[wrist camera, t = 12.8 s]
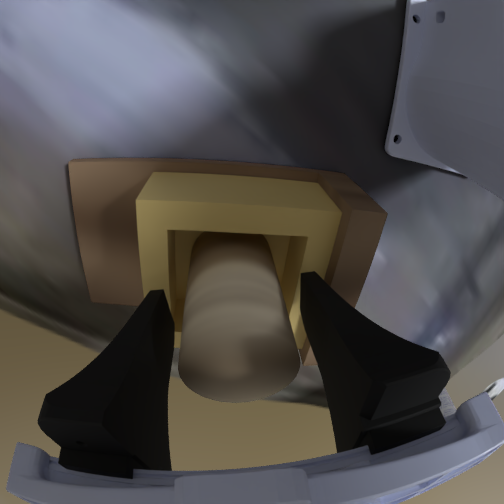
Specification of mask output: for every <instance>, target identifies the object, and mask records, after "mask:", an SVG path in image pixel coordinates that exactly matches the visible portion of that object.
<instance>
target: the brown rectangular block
mask: <svg viewBox="0 0 504 504" xmlns="http://www.w3.org/2000/svg"><path fill="white" fill-rule="evenodd" d="M68 164H69V176H70V186H71V195H72V203H73V211H74V218H75V224H76V231H77V237H78V242H79V248H80V253H81V258H82V263H83V268H84V273H85V277H86V282H87V286H88V290H89V294H90V298H91V302H94V303H105V304H117V305H130V306H139V305H140V304H141V302H142V301H143V299H144V293H143V285H142V276H141V266H140V256H139V244H138V231H137V215H136V199H137V197H138V195H139V194H140V192H141V190H142V189H143V187H144V186H145V184H146V182H147V181H148V179H149V178H150V176H151V175H152V173H153V172H177V173H201V174H220V175H236V176H250V177H262V178H274V179H285V180H295V181H304V182H313V183H318V184H319V185H320V186H321V187H322V188H323V190H324V191H325V192H326V193H327V194H328V196H329V197H330V198H331V199H332V201H333V202H334V203H335V204H336V205H337V207H338V208H339V209H340V210H341V212H342V215H341V219H340V223H339V227H338V231H337V235H336V238H335V242H334V246H333V250H332V253H331V257H330V260H329V264H328V267H327V271H326V274H325V278H324V281H325V282H326V283H327V284H328V285H329V286H330V287H331V288H332V289H333V290H334V291H335V292H337V293H338V294H339V295H340V296H341V297H342V298H343V299H344V300H345V301H346V302H348V303H349V304H350V305H351V306H352V307H354V308H355V306H356V303H357V301H358V298H359V296H360V293H361V290H362V288H363V285H364V283H365V280H366V277H367V274H368V272H369V269H370V266H371V263H372V260H373V257H374V255H375V252H376V249H377V246H378V243H379V240H380V237H381V234H382V230H383V227H384V224H385V221H386V218H387V214H388V213H387V212H386V211H385V210H384V209H383V208H382V207H381V206H379V205H378V204H377V203H376V202H375V201H374V200H373V199H372V198H371V197H370V196H369V195H368V194H367V193H366V192H364V191H363V190H362V189H361V188H360V187H359V186H358V185H357V184H356V183H355V182H353V181H352V180H351V179H350V178H349V177H348V176H347V175H346V174H344V173H339V172H332V171H324V170H316V169H308V168H300V167H291V166H281V165H271V164H260V163H248V162H235V161H219V160H201V159H175V158H91V159H73V160H71V161H70V162H68ZM299 352H300V356H301V360H302V364H303V366H308V365H318V364H317V362H316V359H315V356H314V354H313V351H312V348H311V346H310V343H309V340H308V337H307V336H306V339H305V342H304V345H303V348H302V349H299Z"/></svg>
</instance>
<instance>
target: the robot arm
mask: <svg viewBox="0 0 504 504" xmlns="http://www.w3.org/2000/svg"><path fill="white" fill-rule="evenodd" d="M413 16H414V17H415V18H416V20H417V22H416V23H415V22H414V20H413ZM395 135H398V140H397V141H396V142H394V136H395ZM385 151H386V152H387V154H389V155H390V156H393V157H396V158H401V159H405V160H409V161H414V162H418V163H422V164H426V165H430V166H433V167H437V168H441V169H444V170H448V171H452V172H455V173H459V174H462V175H464V176H466V177H467V178H469V179H471V180H472V181H474V182H475V183H477V184H479V185H480V186H482V187H483V188H485V189H487V190H488V191H490V192H491V193H493V194H494V195H496V196H497V197H499V198H500V199H502V200H503V201H504V0H429V1H426V0H407V4H406V16H405V26H404V35H403V43H402V51H401V59H400V66H399V72H398V79H397V85H396V91H395V97H394V102H393V107H392V113H391V118H390V123H389V128H388V133H387V137H386V142H385ZM300 312H301V316H302V321H303V325H304V329H305V332H306V335H307V337H308V340H309V343H310V346H311V348H312V351H313V354H314V356H315V359H316V362H317V364H318V367H319V370H320V373H321V376H322V380H323V384H324V388H325V392H326V396H327V401H328V405H329V410H330V414H331V420H332V425H333V431H334V436H335V442H336V448H337V453H336V454H331V455H327V456H322V457H317V458H312V459H307V460H302V461H296V462H290V463H283V464H277V465H269V466H261V467H252V468H241V469H228V470H208V471H172V469H171V460H170V450H169V436H168V387H169V379H170V372H171V365H172V358H173V351H174V340H175V323H174V320H173V317H172V314H171V311H170V308H169V305H168V302H167V299H166V295H165V292H164V289H160V290H150V291H149V293H148V294H147V295H146V297H145V298H144V299H143V301H142V302H141V304H140V305H139V307H138V308H137V309H136V311H135V312H134V314H133V315H132V316H131V318H130V319H129V320H128V322H127V323H126V325H125V326H124V327H123V328H122V330H121V331H120V332H119V333H118V335H117V336H116V337H115V338H114V340H113V341H112V342H111V343H110V344H109V345H108V346H107V347H106V348H105V349H104V350H103V351H102V352H101V353H100V354H99V355H98V356H97V358H95V359H94V360H93V361H92V362H91V363H90V364H89V365H87V366H86V367H85V368H84V369H83V370H82V371H80V372H79V373H78V374H76V375H75V376H74V377H73V378H71V379H70V380H68V381H67V382H65V383H64V384H62V385H61V386H59V387H58V388H56V389H54V390H53V391H51V392H49V393H48V394H46V396H45V399H44V402H43V405H42V408H41V411H40V414H39V418H38V425H39V426H40V428H41V430H42V431H43V432H44V433H45V434H46V435H47V436H49V437H50V438H51V439H52V440H53V441H54V442H56V443H57V444H58V445H59V446H60V447H61V451H60V456H59V458H56V457H51V456H49V455H48V454H47V453H46V452H45V451H44V450H42V449H40V448H38V447H35V446H32V445H28V444H24V443H20V442H17V444H16V448H15V452H14V456H13V460H12V464H11V468H10V473H9V477H8V482H7V488H6V490H7V491H8V492H10V493H12V494H13V495H15V496H17V497H19V498H21V499H23V500H25V501H26V502H28V503H30V504H398V503H400V502H403V501H405V500H408V499H410V498H412V497H415V496H417V495H419V494H421V493H423V492H426V491H428V490H430V489H432V488H434V487H436V486H438V485H440V484H442V483H444V482H446V481H448V480H450V479H452V478H454V477H455V476H457V475H459V474H461V473H463V472H464V471H466V470H468V469H470V468H472V467H473V466H475V465H477V464H478V463H480V462H482V461H483V460H484V459H485V458H487V457H488V456H489V455H491V454H492V453H493V452H494V451H495V450H497V449H498V448H499V447H500V446H501V445H503V443H504V423H503V421H502V419H501V417H500V415H499V413H498V411H497V410H496V408H495V406H494V404H493V402H492V400H491V399H490V397H489V395H488V393H487V392H483V393H481V394H479V395H477V396H475V397H473V398H471V399H469V400H467V401H465V402H464V403H463V404H461V405H460V407H459V408H458V409H457V410H456V412H455V413H454V414H452V415H450V416H447V417H445V418H444V416H443V414H442V412H441V410H440V408H439V407H440V406H441V401H440V399H439V395H440V394H441V392H442V391H443V389H444V387H445V386H446V384H447V383H448V381H449V378H450V373H451V372H450V370H449V368H448V367H447V365H446V363H445V361H444V359H443V358H442V357H441V355H440V354H439V352H437V351H434V350H431V349H428V348H425V347H422V346H419V345H417V344H414V343H412V342H410V341H407V340H405V339H403V338H401V337H399V336H397V335H395V334H393V333H391V332H389V331H387V330H386V329H384V328H382V327H380V326H379V325H377V324H376V323H374V322H373V321H371V320H370V319H368V318H367V317H365V316H364V315H362V314H361V313H360V312H359V311H357V310H356V309H355V308H354V307H352V306H351V305H350V304H349V303H348V302H346V301H345V300H344V299H343V298H342V297H341V296H340V295H339V294H338V293H337V292H335V291H334V290H333V289H332V288H331V287H330V286H329V285H328V284H327V283H326V282H325V281H324V280H323V279H322V278H321V277H320V276H319V275H318V274H317V273H316V272H315V271H312V272H305V273H301V278H300Z"/></svg>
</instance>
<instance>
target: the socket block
mask: <svg viewBox="0 0 504 504" xmlns="http://www.w3.org/2000/svg"><path fill="white" fill-rule="evenodd" d="M136 215H137V231H138V244H139V256H140V266H141V276H142V285H143V293H144V298H145V297H146V295H147V294H148V293H149V291H150V290H160V289H164V292H165V295H166V299H167V302H168V305H169V308H170V311H171V314H172V317H173V320H174V323H175V340H174V348H180V342H181V332H182V323H183V314H184V305H185V297H186V289H187V281H188V273H189V266H190V258H191V251H192V247H193V245H194V243H195V241H196V239H197V238H198V237H199V235H200V234H201V233H202V232H204V231H211V232H231V233H250V234H262V235H263V236H264V237H265V238H266V240H267V242H268V244H269V247H270V250H271V253H272V257H273V261H274V264H275V268H276V271H277V275H278V279H279V282H280V286H281V289H282V293H283V297H284V300H285V304H286V308H287V311H288V315H289V319H290V323H291V326H292V330H293V334H294V338H295V341H296V345H297V349H302V348H303V345H304V342H305V339H306V336H307V335H306V332H305V329H304V325H303V321H302V316H301V312H300V278H301V273H305V272H312V271H315V272H316V273H317V274H318V275H319V276H320V277H321V278H322V279H323V280H324V278H325V274H326V271H327V267H328V264H329V260H330V257H331V253H332V250H333V246H334V242H335V238H336V235H337V231H338V227H339V223H340V219H341V215H342V212H341V210H340V209H339V208H338V207H337V205H336V204H335V203H334V202H333V201H332V199H331V198H330V197H329V196H328V194H327V193H326V192H325V191H324V190H323V188H322V187H321V186H320V185H319V184H318V183H313V182H304V181H295V180H285V179H274V178H262V177H250V176H236V175H220V174H201V173H177V172H153V173H152V175H151V176H150V178H149V179H148V181H147V182H146V184H145V186H144V187H143V189H142V190H141V192H140V194H139V195H138V197H137V199H136Z"/></svg>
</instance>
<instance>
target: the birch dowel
mask: <svg viewBox="0 0 504 504" xmlns="http://www.w3.org/2000/svg"><path fill="white" fill-rule="evenodd" d="M299 368H300V356H299V353H298V349H297V345H296V341H295V338H294V334H293V330H292V326H291V323H290V319H289V315H288V311H287V308H286V304H285V300H284V297H283V293H282V289H281V286H280V282H279V279H278V275H277V271H276V268H275V264H274V261H273V257H272V253H271V250H270V247H269V244H268V242H267V240H266V238H265V237H264V236H263V235H262V234H250V233H231V232H211V231H204V232H202V233H201V234H200V235H199V237H198V238H197V239H196V241H195V243H194V245H193V247H192V251H191V258H190V266H189V273H188V281H187V289H186V297H185V305H184V314H183V323H182V332H181V342H180V353H179V364H178V371H179V375H180V378H181V379H182V381H183V382H184V384H185V385H186V386H187V387H188V388H190V389H191V390H192V391H194V392H195V393H197V394H199V395H201V396H203V397H206V398H209V399H212V400H216V401H221V402H232V403H236V402H249V401H255V400H259V399H263V398H266V397H269V396H271V395H273V394H275V393H277V392H279V391H281V390H282V389H284V388H285V387H286V386H288V385H289V384H290V383H291V382H292V381H293V380H294V378H295V377H296V375H297V373H298V371H299Z"/></svg>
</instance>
